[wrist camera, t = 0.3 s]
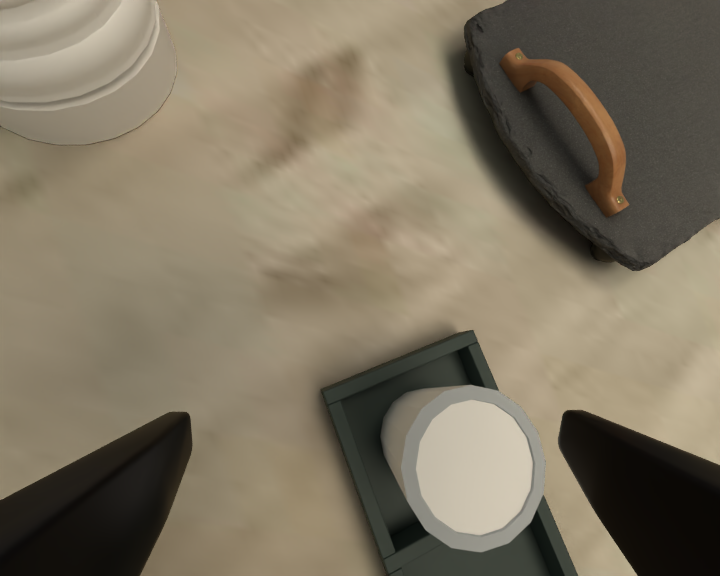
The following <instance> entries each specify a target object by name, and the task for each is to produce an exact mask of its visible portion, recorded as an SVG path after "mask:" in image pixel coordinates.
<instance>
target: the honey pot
mask: <svg viewBox="0 0 720 576" xmlns="http://www.w3.org/2000/svg"><path fill="white" fill-rule="evenodd" d="M176 73H177V65H176V50H175V48H174V45H173V42H172V39H171V37H170V34H169V31H168V29H167V26H166V24H165V21H164V19H163V16H162V14H161V11H160V8H159V6H158V3H157V1H156V0H0V126H1V127H3V128H5V129H7V130H9V131H12V132H14V133H16V134H18V135H21V136H23V137H25V138H27V139H30V140H35V141H40V142H45V143H50V144H55V145H87V144H92V143H96V142H101V141H105V140H109V139H114V138H116V137H118V136H121V135H123V134H125V133H127V132H129V131H131V130H133V129H135V128H137V127H139V126H140V125H142V124H143V123H144V122H145V121H146V120H148V119H149V118H150V117H151V116H153V115H154V114H155V113H156V112H157V111H158V110H159V109H160V107H161V106H162V104H163V103H164V101H165V100H166V99H167V97H168V96H169V94H170V93H171V90H172V86H173V83H174V80H175V77H176Z"/></svg>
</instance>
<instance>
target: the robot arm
mask: <svg viewBox="0 0 720 576" xmlns="http://www.w3.org/2000/svg"><path fill="white" fill-rule="evenodd" d="M558 444H559V448H560V451H561V452H562V454H563V456H564V458H565V460H566V461H567V463H568V465H569V467H570V469H571V470H572V472H573V474H574V476H575V478H576V479H577V481H578V483H579V485H580V487H581V488H582V490H583V492H584V494H585V496H586V497H587V499H588V501H589V503H590V504H591V506H592V508H593V509H594V511H595V513H596V514H597V516H598V517H599V519H600V520H601V522H602V523H603V525H604V526H605V528H606V529H607V531H608V532H609V534H610V535H611V537H612V538H613V540H614V541H615V543H616V544H617V546H618V547H619V549H620V550H621V552H622V553H623V554H624V556H625V557H626V559H627V560H628V562H629V563H630V565H631V566H632V568H633V569H634V571H635V572H636V574H637V575H638V576H720V465H718V464H716V463H713V462H711V461H708V460H706V459H703V458H701V457H698V456H696V455H693V454H691V453H688V452H686V451H683V450H681V449H678V448H676V447H673V446H671V445H668V444H666V443H663V442H661V441H658V440H656V439H653V438H651V437H648V436H646V435H643V434H641V433H639V432H636V431H634V430H631V429H629V428H626V427H624V426H621V425H619V424H616V423H614V422H611V421H609V420H606V419H604V418H601V417H599V416H596V415H594V414H591V413H589V412H586V411H583V410H567V411H565V412H564V414H563V416H562V421H561V426H560V432H559V437H558ZM191 451H192V432H191V419H190V415H189V414H188V413H187V412H169V413H166V414H165V415H163V416H161V417H159V418H157V419H155V420H153V421H151V422H149V423H147V424H145V425H144V426H142V427H140V428H138V429H136V430H134V431H132V432H130V433H128V434H126V435H124V436H122V437H121V438H119V439H117V440H115V441H113V442H111V443H109V444H107V445H105V446H103V447H101V448H100V449H98V450H96V451H94V452H92V453H90V454H88V455H86V456H84V457H82V458H80V459H79V460H77V461H75V462H73V463H71V464H69V465H67V466H65V467H63V468H61V469H59V470H57V471H56V472H54V473H52V474H50V475H48V476H46V477H44V478H42V479H40V480H38V481H36V482H35V483H33V484H31V485H29V486H27V487H25V488H23V489H21V490H19V491H17V492H15V493H13V494H12V495H10V496H8V497H6V498H4V499H2V500H0V576H140V574H141V572H142V570H143V568H144V566H145V564H146V562H147V560H148V558H149V556H150V554H151V552H152V550H153V548H154V545H155V543H156V541H157V539H158V537H159V535H160V533H161V531H162V529H163V527H164V524H165V522H166V520H167V517H168V515H169V512H170V510H171V507H172V504H173V502H174V499H175V496H176V493H177V491H178V488H179V485H180V482H181V480H182V477H183V474H184V472H185V469H186V466H187V463H188V461H189V458H190V455H191Z"/></svg>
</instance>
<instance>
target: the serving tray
mask: <svg viewBox="0 0 720 576" xmlns="http://www.w3.org/2000/svg"><path fill="white" fill-rule="evenodd" d="M464 38H465V43H466V47H467V51H466V53H465V57H464V63H465V65H464V68H465V70H466V72H467V73H469V74H471V75H474V79H475V82H476V84H477V86H478V88H479V92H480V95H481V98H482V100H483V102H484V104H485V106H486V108H487V110H488V111H489V113H490V115H491V118H492V121H493V124H494V126H495V129H496V132H497V133H498V135H499V137H500V138H501V140H502V142H503V143H504V144H505V146H506V147H507V148H508V150H509V152H510V153H511V155H512V156H513V158H514V159H515V161H516V162H517V164H518V165H519V167H520V168H521V169H522V171H523V172H524V173H525V175H526V177H527V178H528V180H529V181H530V183H531V184H532V185H533V186H534V188H535V189H536V190H537V191H538V192H539V193H541V194H542V195H543V196H544V198H545V199H546V201H547V202H548V203H549V204H550V205H551V206H552V207H553V208H554V209H555V210H556V211H557V212H558V213H559V214H560V215H561V216H562V217H563V218H564V219H565V220H566V221H568V222H569V223H570V224H571V225H573V226H574V228H575V229H576V230H577V231H578V232H579V233H580V234H582V235H583V236H585V237H586V238H588V239H589V240H590V241H591V242H592V243H593V245H592V246H591V249H590V252H591V255H592V256H593V257H594V258H595V259H596V260H601V261H604V262H613V261H617V262H618V263H620V264H621V265H623V266H625V267H627V268H629V269H630V270H632V271H640V270H642V269H645V268H647V267H650V266H651V265H653V264H654V263H656V262H657V261H659V260H660V259H661V258H663V257H664V256H666V255H667V254H668V253H669V252H671V251H672V250H673V249H675V248H676V247H678V246H679V245H681V244H682V243H685V242H686V241H688V240H689V239H690V238H691V237H692V236H693V235H695V234H697V232H698V231H700V230H701V229H703V228H704V227H706V226H707V225H708V224H710V223H711V222H713V221H714V220H717V219H719V218H720V0H507V1H506V2H504V3H503V4H500V5H498V6H495V7H492V8H489V9H485V10H483V11H481V12H479V13H478V14H476V15H475V16H474V17H472V18H471V19H469V20H468V21H467V22H466V24H465V26H464Z"/></svg>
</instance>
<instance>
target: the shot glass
mask: <svg viewBox="0 0 720 576" xmlns="http://www.w3.org/2000/svg"><path fill="white" fill-rule="evenodd" d="M380 438H381V443H382V448H383V454H384V456H385V458H386V460H387V462H388V464H389V466H390V468H391V470H392V472H393V474H394V476H395V478H396V480H397V482H398V484H399V486H400V488H401V490H402V492H403V494H404V496H405V498H406V500H407V502H408V503H409V505H410V506H411V508H412V510H413V511H414V513H415V514H416V516H417V518H418V519H419V521H420V522H421V524H422V526H423V527H424V529H425V530H426V531H427V532H429V533H430V534H432V535H433V536H435V537H436V538H438V539H439V540H440V541H442V542H443V543H445V544H446V545H448V546H449V547H451V548H455V549H461V550H468V551H474V552H484V551H487V550H490V549H493V548H496V547H499V546H502V545H505V544H508V543H510V542H511V541H512V540H513V539H514V538H515V537H516V536H517V535H518V534H519V533H520V532H521V531H522V530H523V529H524V528H525V527H526V526H528V525H529V524H530V523H531V521H532V519H533V516H534V514H535V512H536V510H537V507H538V505H539V503H540V501H541V498H542V496H543V494H544V481H545V466H546V461H545V457H544V453H543V449H542V446H541V442H540V438H539V434H538V431H537V430H536V428H535V427H534V425H533V424H532V422H531V421H530V419H529V418H528V416H527V415H526V413H525V412H524V410H523V409H522V408H521V406H519V405H518V404H516V403H515V402H513V401H512V400H511V399H509V398H508V397H506V396H505V395H503V394H502V393H501V392H499V391H497V390H493V389H488V388H483V387H478V386H474V385H464V386H451V387H437V388H424V389H419V390H414V391H410V392H406V393H405V394H403V395H402V396H401V397H399V398H398V399H397V400H395V401H394V402H393V403H392V404H391V406H390V408H389V409H388V411H387V413H386V414H385V416H384V418H383V423H382V429H381V434H380Z"/></svg>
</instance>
